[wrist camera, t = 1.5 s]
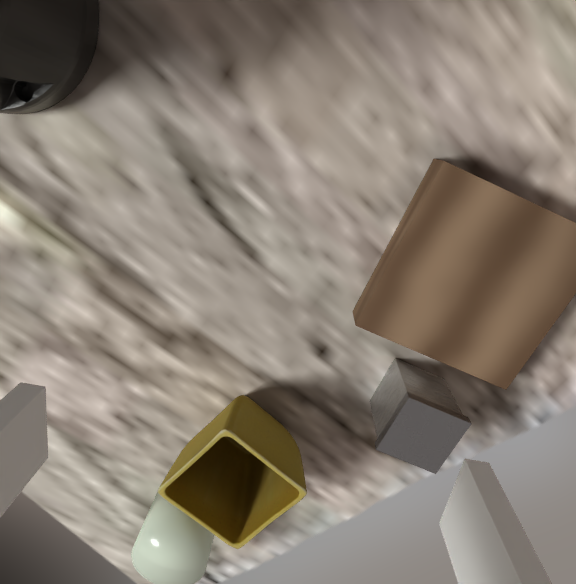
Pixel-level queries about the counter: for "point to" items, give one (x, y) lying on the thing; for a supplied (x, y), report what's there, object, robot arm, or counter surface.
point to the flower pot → (237, 473)
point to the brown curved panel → (471, 276)
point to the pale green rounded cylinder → (171, 546)
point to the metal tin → (416, 416)
